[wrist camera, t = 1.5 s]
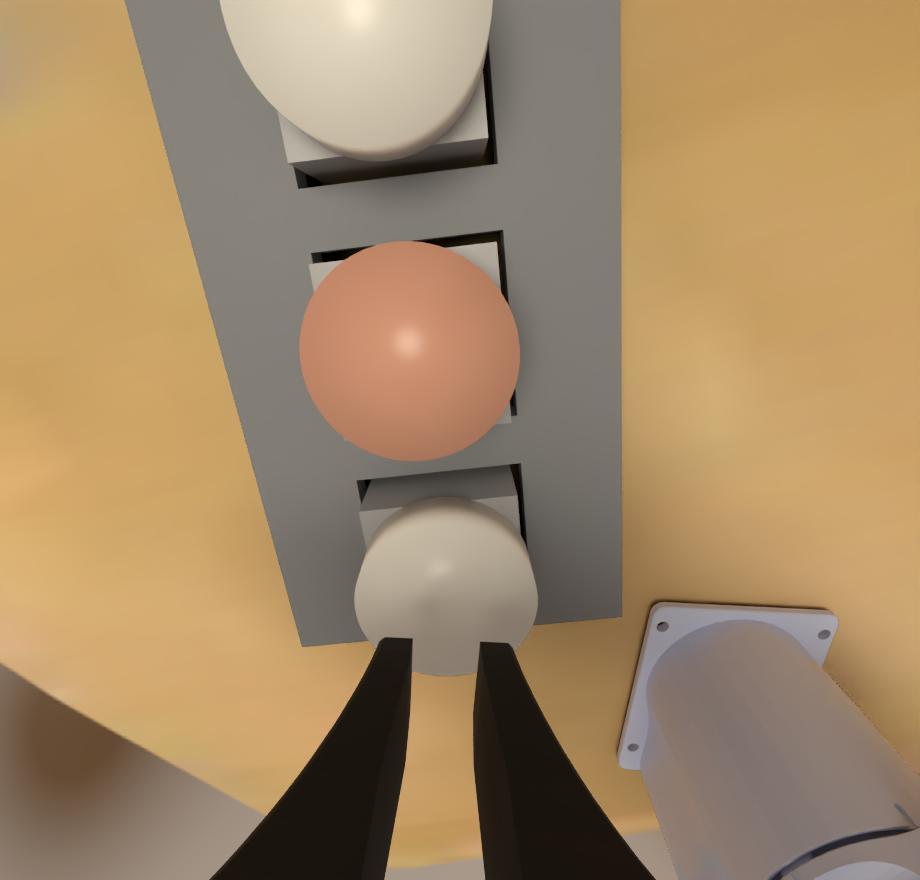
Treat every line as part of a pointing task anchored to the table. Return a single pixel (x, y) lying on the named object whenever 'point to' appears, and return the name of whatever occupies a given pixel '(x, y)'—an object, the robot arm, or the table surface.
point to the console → (417, 219)
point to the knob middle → (411, 348)
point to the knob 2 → (445, 566)
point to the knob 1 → (369, 82)
